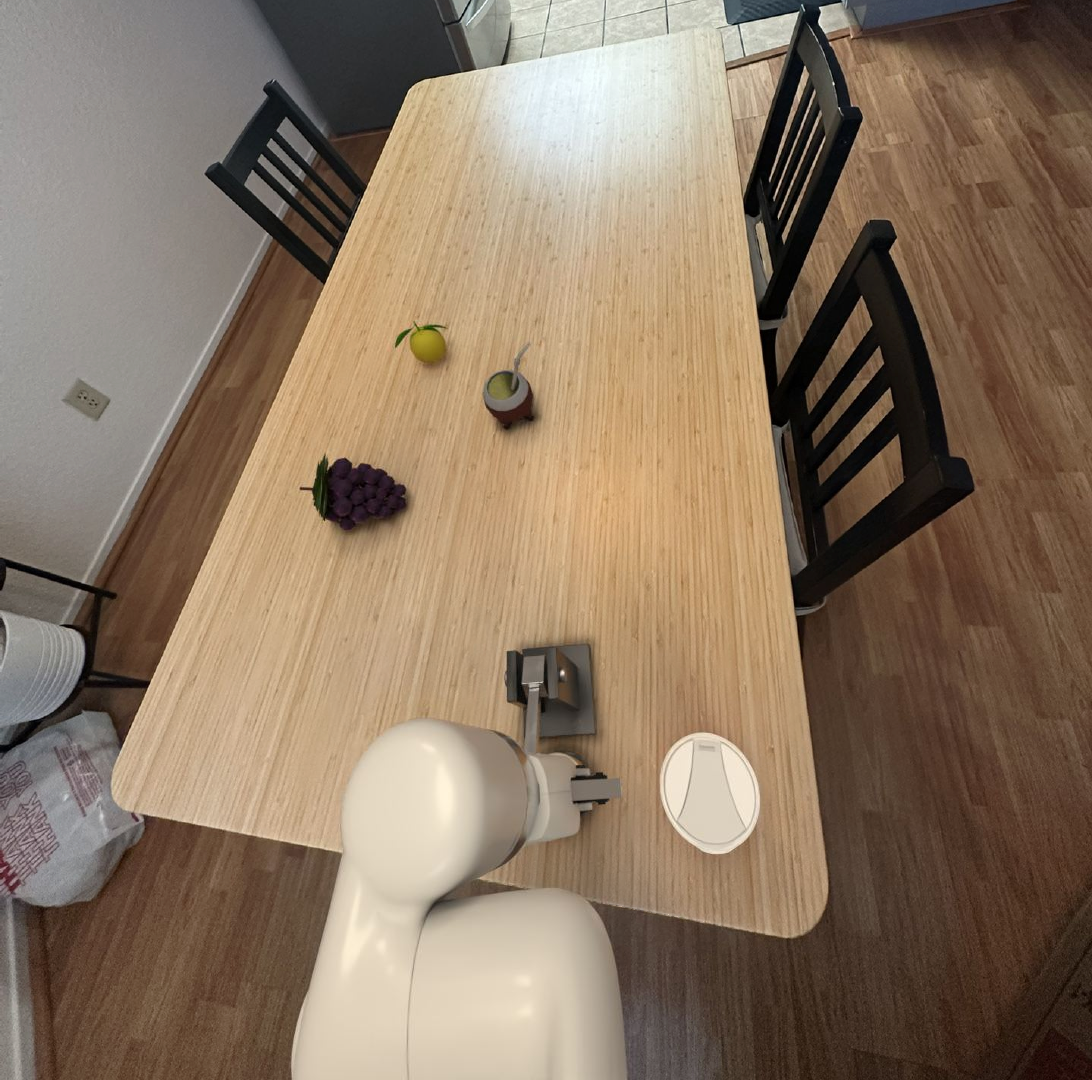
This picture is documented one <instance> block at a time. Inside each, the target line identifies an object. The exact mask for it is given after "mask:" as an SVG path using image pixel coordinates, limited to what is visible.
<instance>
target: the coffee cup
mask: <svg viewBox="0 0 1092 1080" xmlns="http://www.w3.org/2000/svg"><path fill="white" fill-rule="evenodd" d="M659 793H660V794H659V795H660V798H661V802H662V803H661V804H662V805H663V809H664V812H665V814H666V816H667V818H668V820H669V822H670V824H672V826H673V828H674V830H676V832H678V834H679V835H680V836H681V837H682V838H683V839H684V840H686V841H687V842H688V843H690V844H691V845H692V846H695V847H696V848H697V849H699V850H701V851H702V852H703V853H707V854H712V855H722V854H723V855H724V854H728V853H729V854H730V852H731V851H733V850H734V849H736V848H737V847H739V846H740V845H742V844H743V843H744V842H745V841H746V840H747V839H748V838H749V837H750V835H751V834H752V833H753V831H754V828H755V826H756V824H757V821H758V818H759V815H760V809H761V808H760V807H761V795H760V793H761V792H760V787H759V782H758V779H757V776H756V773H755V771H754V769H753V767H752V765H751V764H750V762H749V760H748V758H747V757H746V756H745V755H744V753H743V752H742V751H741V750H740V748H738V746H737V745H735V744H734V743H732V742H731V741H730V740H728V739H726V738H725V737H722V736H721V735H718V734H715V733H711V732H695V733H691V734H688V735H685V736H683V737H682V738H680V739H679V740H677V741H676V742H674V744H673V745H672V746H671V747H670V749H669V750H668V751H667V753H666V754H665V757H664V759H663V762H662V764H661V768H660V773H659Z"/></svg>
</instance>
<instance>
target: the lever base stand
mask: <svg viewBox="0 0 1092 1080" xmlns="http://www.w3.org/2000/svg"><path fill="white" fill-rule="evenodd" d="M505 655H506V670H505V672H504V676H503V677H504V679H503V680H504V685H505V687H506V703H508V704H511V705H514V706H516V707H519V708H522V710H523V711H522V712H523V714H522V715H523V738H524V739H525V732H526V717H527V703H528V698H526V695H525V692H524V690H523V687H522V684H521V682H522V669H523V657H529V656H541V655H545V657H546V660H547V677H548V697H541V710H540V731H539V739H547V738H559V737H560V738H563V737H576V736H577V737H578V736H594V735H598V729H597V717H596V704H595V691H594V680H593V679H594V678H593V666H592V651H591V645H590V643H579V644H567V645H553V646H544V647H543V646H542V647H531V648H530V647H529V648H522V649H521V652H519V651H518V650H517V649H516V650H515V649H514V650H507V651H506V653H505Z"/></svg>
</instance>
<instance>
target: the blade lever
mask: <svg viewBox="0 0 1092 1080" xmlns="http://www.w3.org/2000/svg"><path fill="white" fill-rule="evenodd" d="M521 684H522V687H523V690H524V692H525V695H526V698H528V703H527V717H526V732H525V738H524V748H523V749H524V750H525V752H528V753H539V748H540V738H539V731H540V710H541V697H548V677H547V660H546V657H545V655H541V656H529V657H523V669H522V682H521Z"/></svg>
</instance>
